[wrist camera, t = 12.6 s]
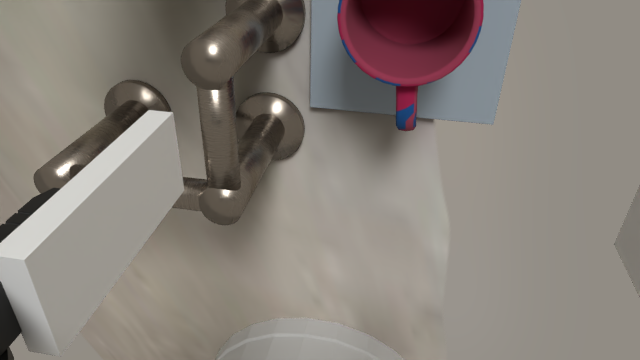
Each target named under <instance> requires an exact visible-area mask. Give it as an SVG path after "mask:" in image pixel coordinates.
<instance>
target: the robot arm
mask: <svg viewBox="0 0 640 360" xmlns="http://www.w3.org/2000/svg"><path fill="white" fill-rule="evenodd" d="M183 191H184V184H183V177H182V170H181V163H180V156H179V149H178V142H177V135H176V128H175V121H174V114H173V112H164V111H154V110H148V111H147V112H146V113H145V114H144V115H143V116H142V117H140V118H139V119H138V120H137V121H136V122H135V123H134V124H133V125H132V126H130V127H129V128H128V129H127V130H126V131H125V132H124V133H123V134H121V135H120V136H119V137H118V138H117V139H116V140H115V141H114V142H113V143H111V144H110V145H109V146H108V147H107V148H106V149H105V150H104V151H102V152H101V153H100V154H99V155H98V156H97V157H96V158H95V159H94V160H92V161H91V162H90V163H89V164H88V165H87V166H86V167H85V168H83V169H82V170H81V171H80V172H79V173H78V174H77V175H76V176H75V177H73V178H72V179H71V180H70V181H69V182H68V183H67V184H66V185H64V186H63V187H62V188H52V189H50V190H48V191H46V192H44V193H42V194H40V195H38V196H36V197H34V198H32V199H31V200H30V201H29V202H28V203H27V204H25V205H24V206H23V207H22V208H21V209H20V210H18V213H15V214H14V215H12V216H11V217H10V218H9V219H8V220H7V221H6V224H2V225H1V226H0V360H14V357H13V354H12V352H11V350H10V348H9V346H10V345H11V344H12V342H13V341H14V340H15V339H16V338H17V336H18V335H19V334H20V333H21V334H22V336H23V338H24V341H25V343H26V345H27V348H28V350H29V351H32V352H37V353H43V354H49V355H54V356H60V357H61V356H62V355H63V353H64V352H65V351H66V349H67V348H68V347H69V345H70V344H71V343H72V341H73V340H74V339H75V337H76V336H77V334H78V333H79V332H80V331H81V329H82V328H83V326H84V325H85V324H86V322H87V321H88V320H89V318H90V317H91V316H92V314H93V313H94V312H95V310H96V309H97V308H98V306H99V305H100V303H101V302H102V301H103V299H104V298H105V297H106V295H107V294H108V293H109V291H110V290H111V289H112V287H113V286H114V285H115V283H116V282H117V280H118V279H119V278H120V276H121V275H122V274H123V272H124V271H125V270H126V268H127V267H128V266H129V264H130V263H131V262H132V260H133V259H134V258H135V256H136V255H137V253H138V252H139V251H140V249H141V248H142V247H143V245H144V244H145V243H146V241H147V240H148V239H149V237H150V236H151V235H152V233H153V232H154V230H155V229H156V228H157V226H158V225H159V224H160V222H161V221H162V220H163V218H164V217H165V216H166V214H167V213H168V212H169V210H170V209H171V207H172V206H173V205H174V203H175V202H176V201H177V199H178V198H179V197H180V195H181V194H182V193H183ZM614 245H615V247H616V249H617V251H618V253H619V256H620V258H621V260H622V262H623V264H624V266H625V268H626V270H627V272H628V274H629V276H630V278H631V280H632V283H633V285H634V287H635V289H636V291H637V293H638V295H639V297H640V186H639V188H638V190H637V193H636V195H635V197H634V199H633V202H632V204H631V206H630V209H629V211H628V213H627V216H626V218H625V220H624V223H623V225H622V227H621V229H620V232H619V234H618V236H617V238H616V241H615V243H614Z"/></svg>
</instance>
